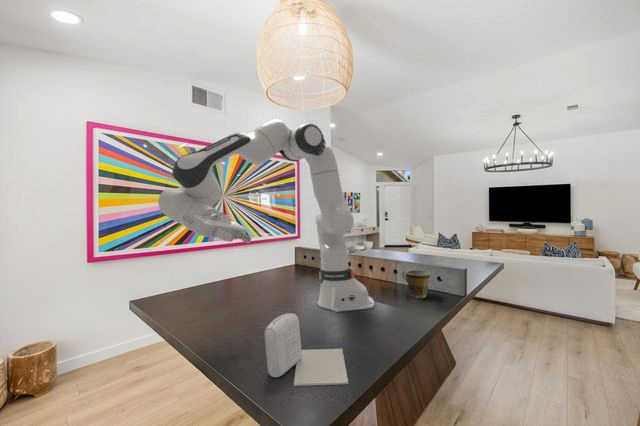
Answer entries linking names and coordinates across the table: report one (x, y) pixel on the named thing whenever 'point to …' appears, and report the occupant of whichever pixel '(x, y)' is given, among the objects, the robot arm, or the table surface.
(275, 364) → the photo printer
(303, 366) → the mat
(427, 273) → the ceramic cup
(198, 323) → the table surface
